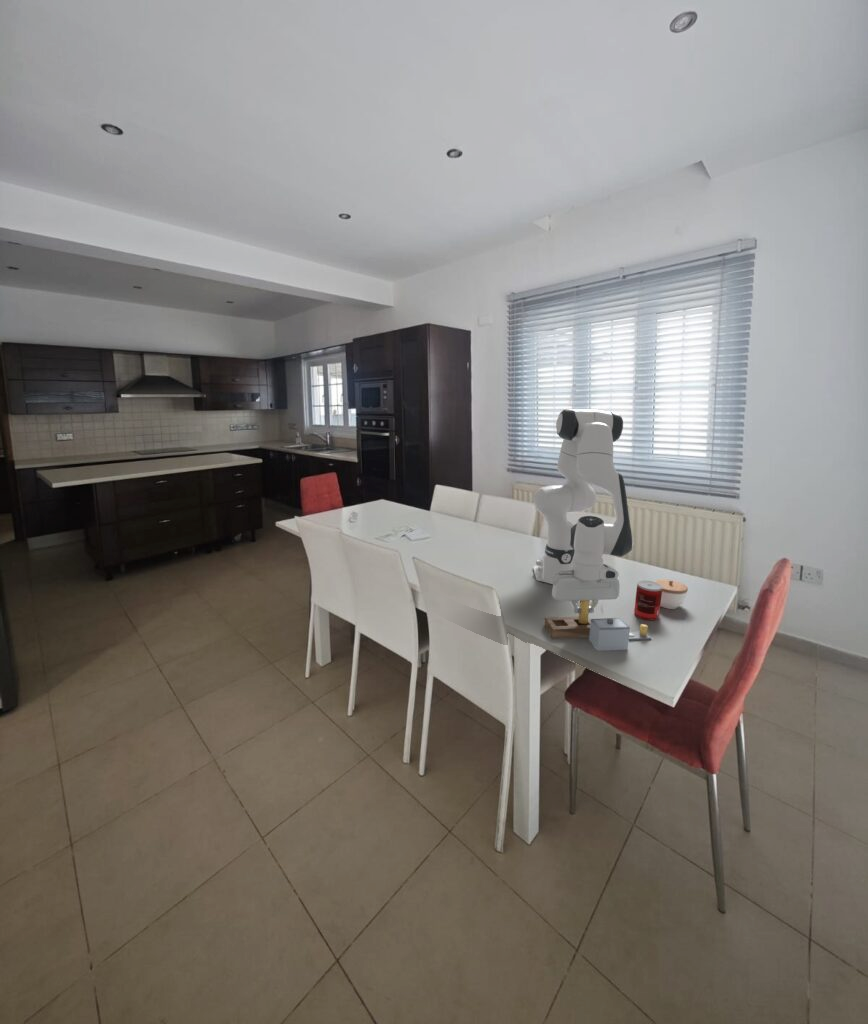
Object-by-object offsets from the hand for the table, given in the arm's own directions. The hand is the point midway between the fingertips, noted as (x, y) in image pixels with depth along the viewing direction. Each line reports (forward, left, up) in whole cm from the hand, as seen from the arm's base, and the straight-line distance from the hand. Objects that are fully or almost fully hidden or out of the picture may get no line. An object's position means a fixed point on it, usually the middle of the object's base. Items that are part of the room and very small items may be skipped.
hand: (583, 612), depth 142 cm
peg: (0, 0, -3) cm, 3 cm away
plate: (+5, +15, -6) cm, 17 cm away
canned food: (-9, +26, -7) cm, 29 cm away
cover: (+9, +4, -6) cm, 12 cm away
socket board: (0, -4, -6) cm, 7 cm away
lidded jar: (-16, +38, -7) cm, 42 cm away
